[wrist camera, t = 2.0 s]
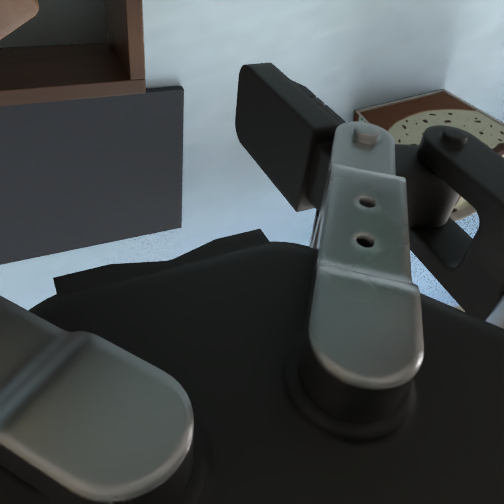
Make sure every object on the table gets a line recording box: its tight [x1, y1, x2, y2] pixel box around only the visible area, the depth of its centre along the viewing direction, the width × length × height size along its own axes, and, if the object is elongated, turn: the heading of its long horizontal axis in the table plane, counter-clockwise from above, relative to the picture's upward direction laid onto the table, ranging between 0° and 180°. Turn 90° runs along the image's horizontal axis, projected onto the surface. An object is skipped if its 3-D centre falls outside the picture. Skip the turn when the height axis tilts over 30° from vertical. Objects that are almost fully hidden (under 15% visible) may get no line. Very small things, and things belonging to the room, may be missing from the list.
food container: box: [354, 89, 504, 221], centre depth 40 cm, size 12×6×10 cm, turn 89°
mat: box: [0, 86, 184, 265], centre depth 31 cm, size 12×22×1 cm, turn 83°
